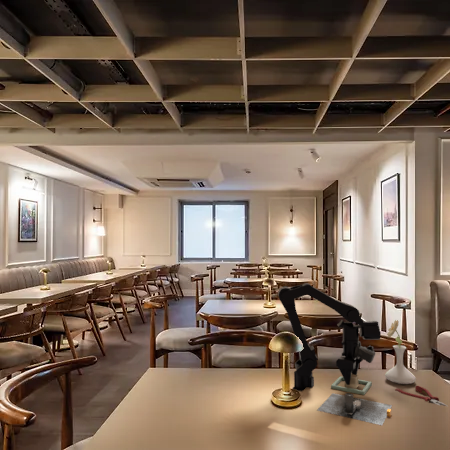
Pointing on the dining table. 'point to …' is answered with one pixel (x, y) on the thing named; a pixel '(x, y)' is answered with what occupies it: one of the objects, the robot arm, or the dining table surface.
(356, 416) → the base
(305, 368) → the robot arm
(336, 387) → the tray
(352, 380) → the block
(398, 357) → the flower in vase
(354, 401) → the crank
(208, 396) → the dining table surface
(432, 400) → the pliers
